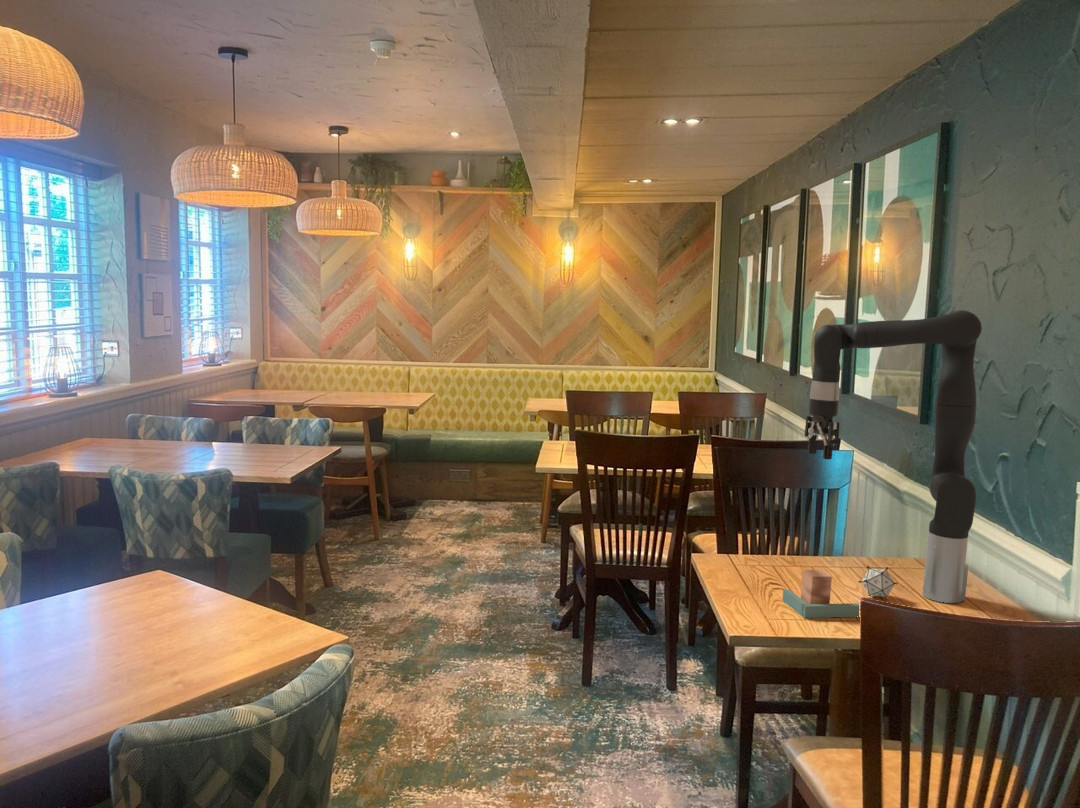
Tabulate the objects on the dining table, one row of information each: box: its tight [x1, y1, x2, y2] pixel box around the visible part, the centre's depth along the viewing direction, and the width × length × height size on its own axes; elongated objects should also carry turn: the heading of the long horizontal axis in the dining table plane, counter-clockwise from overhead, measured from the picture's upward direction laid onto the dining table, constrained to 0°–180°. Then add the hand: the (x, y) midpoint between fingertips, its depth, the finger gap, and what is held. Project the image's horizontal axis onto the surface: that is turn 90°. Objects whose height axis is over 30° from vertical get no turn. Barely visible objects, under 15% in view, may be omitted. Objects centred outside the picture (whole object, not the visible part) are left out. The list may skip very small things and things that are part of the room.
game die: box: [857, 565, 899, 598], centre depth 207 cm, size 9×8×10 cm
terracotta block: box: [800, 569, 833, 604], centre depth 195 cm, size 5×5×9 cm
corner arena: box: [782, 588, 860, 619], centre depth 197 cm, size 16×12×3 cm
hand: (819, 456), depth 218 cm, fingers open, 8 cm apart
